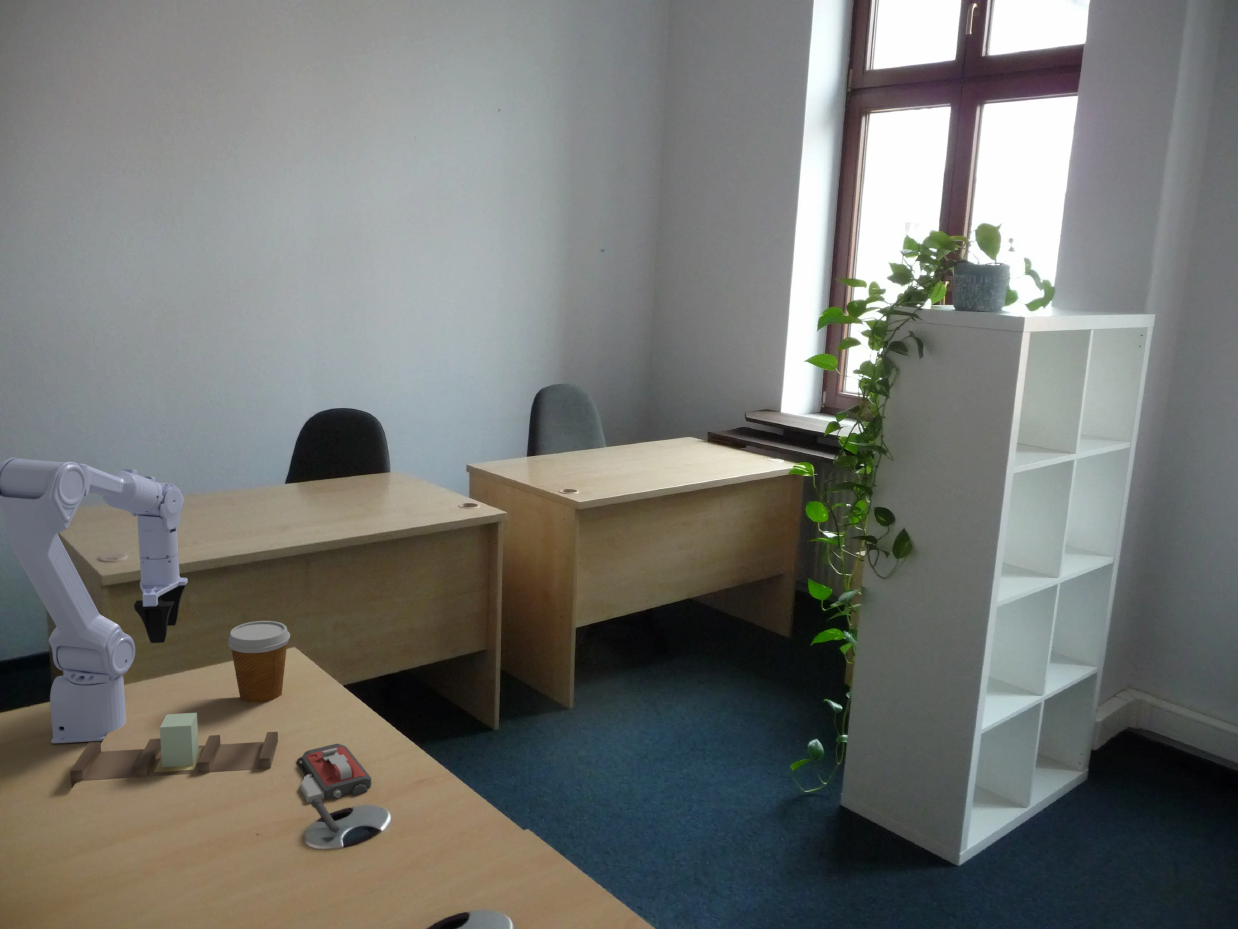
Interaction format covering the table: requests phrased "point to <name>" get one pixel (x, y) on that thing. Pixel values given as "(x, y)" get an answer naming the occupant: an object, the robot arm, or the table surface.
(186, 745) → the sage block
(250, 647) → the disposable coffee cup
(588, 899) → the table surface
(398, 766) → the table surface
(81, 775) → the notch rail
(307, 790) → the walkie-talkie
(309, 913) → the table surface
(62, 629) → the robot arm
